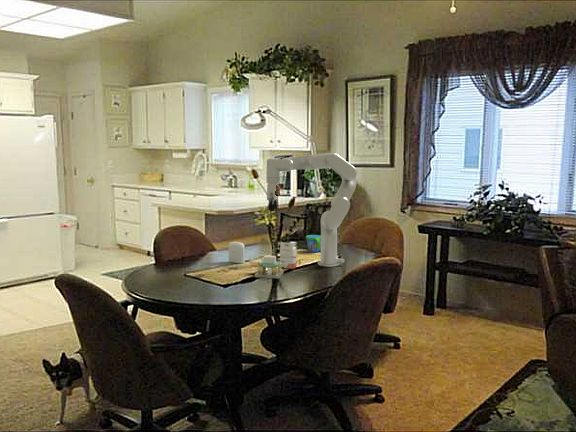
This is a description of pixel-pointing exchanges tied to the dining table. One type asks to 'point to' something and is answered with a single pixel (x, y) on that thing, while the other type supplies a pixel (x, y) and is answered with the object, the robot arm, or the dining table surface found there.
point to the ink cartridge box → (288, 255)
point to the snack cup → (313, 243)
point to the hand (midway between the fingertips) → (272, 210)
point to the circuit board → (269, 261)
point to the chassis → (269, 271)
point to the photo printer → (236, 252)
